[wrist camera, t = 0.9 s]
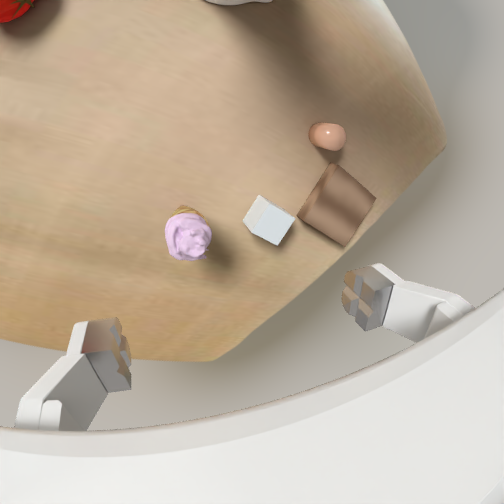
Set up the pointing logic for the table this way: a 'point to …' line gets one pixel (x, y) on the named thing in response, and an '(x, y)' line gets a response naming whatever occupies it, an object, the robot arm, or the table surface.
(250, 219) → the white cube
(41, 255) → the table surface
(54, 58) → the table surface
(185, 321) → the table surface
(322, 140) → the peach rounded block
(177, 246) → the ice cream cone
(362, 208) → the walnut plinth
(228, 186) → the table surface
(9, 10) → the tomato
